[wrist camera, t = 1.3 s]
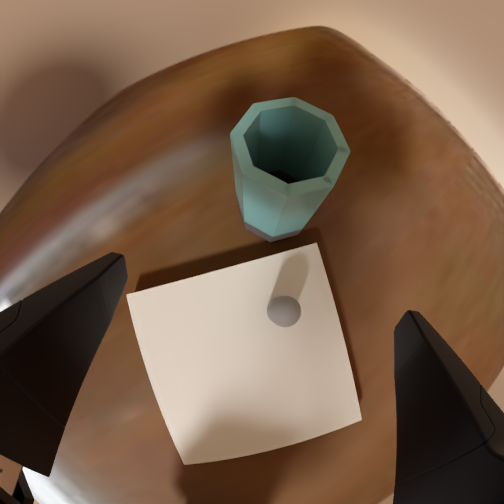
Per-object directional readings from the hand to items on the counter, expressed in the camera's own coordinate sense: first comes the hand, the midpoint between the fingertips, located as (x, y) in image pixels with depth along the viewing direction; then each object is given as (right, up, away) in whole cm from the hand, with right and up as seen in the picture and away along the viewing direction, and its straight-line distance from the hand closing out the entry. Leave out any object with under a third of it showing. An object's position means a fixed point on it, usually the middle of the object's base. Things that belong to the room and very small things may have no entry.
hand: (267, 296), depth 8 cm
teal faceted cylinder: (+1, +5, +15) cm, 16 cm away
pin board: (-1, -7, +13) cm, 15 cm away
